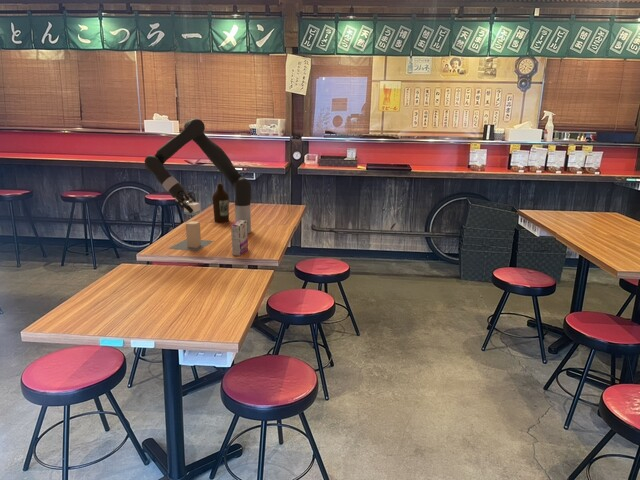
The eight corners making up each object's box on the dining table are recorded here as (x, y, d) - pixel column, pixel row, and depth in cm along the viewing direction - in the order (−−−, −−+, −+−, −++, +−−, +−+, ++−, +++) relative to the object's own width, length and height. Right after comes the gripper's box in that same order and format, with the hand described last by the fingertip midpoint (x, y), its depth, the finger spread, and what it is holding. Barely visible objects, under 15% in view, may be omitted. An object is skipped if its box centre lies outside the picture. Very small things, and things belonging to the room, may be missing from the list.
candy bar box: (239, 249, 262) (238, 219, 258) (248, 250, 261) (247, 220, 257) (231, 255, 252) (230, 224, 247) (240, 256, 251) (239, 225, 246)
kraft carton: (192, 244, 267) (190, 221, 263) (201, 245, 265) (199, 221, 262) (187, 247, 261) (185, 223, 258) (196, 247, 260) (195, 224, 257)
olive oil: (210, 220, 323) (208, 183, 316) (224, 218, 330) (222, 181, 323) (219, 223, 315) (217, 185, 308) (233, 221, 322) (231, 183, 315)
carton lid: (189, 211, 262) (189, 202, 260) (200, 212, 260) (199, 202, 259) (184, 213, 256) (183, 204, 255) (194, 214, 255) (194, 205, 253)
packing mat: (186, 240, 277) (186, 238, 277) (214, 242, 273) (214, 241, 273) (168, 250, 259) (168, 248, 258) (197, 253, 255) (197, 251, 255)
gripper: (170, 184, 249) (192, 208, 249) (184, 180, 262) (205, 203, 263) (161, 194, 252) (184, 218, 252) (176, 189, 265) (197, 212, 266)
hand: (195, 210), depth 258 cm, fingers closed on carton lid, 6 cm apart
